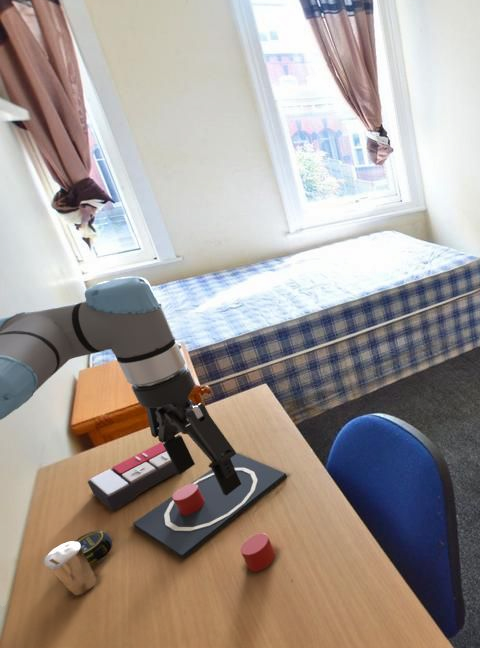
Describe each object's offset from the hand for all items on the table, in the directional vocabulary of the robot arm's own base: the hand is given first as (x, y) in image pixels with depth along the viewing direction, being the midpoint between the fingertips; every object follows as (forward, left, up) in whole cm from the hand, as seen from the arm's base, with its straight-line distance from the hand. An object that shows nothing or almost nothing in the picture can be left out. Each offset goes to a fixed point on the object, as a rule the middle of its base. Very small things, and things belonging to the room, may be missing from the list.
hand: (208, 478), depth 81 cm
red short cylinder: (-1, -8, -15) cm, 17 cm away
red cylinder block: (+1, +16, -14) cm, 21 cm away
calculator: (+1, +38, -15) cm, 41 cm away
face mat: (+4, +15, -15) cm, 21 cm away
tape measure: (-15, +23, -15) cm, 31 cm away
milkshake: (-18, +17, -15) cm, 29 cm away
